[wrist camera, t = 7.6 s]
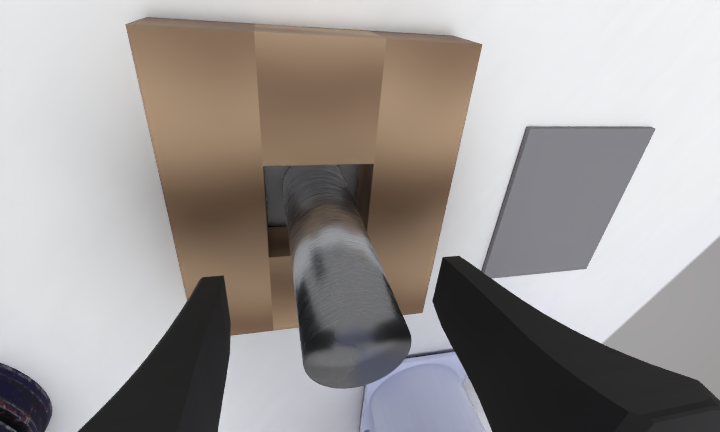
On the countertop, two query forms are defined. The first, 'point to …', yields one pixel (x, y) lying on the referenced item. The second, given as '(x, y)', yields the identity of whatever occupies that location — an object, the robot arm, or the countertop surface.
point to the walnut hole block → (299, 145)
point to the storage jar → (22, 403)
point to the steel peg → (339, 284)
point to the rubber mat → (562, 197)
